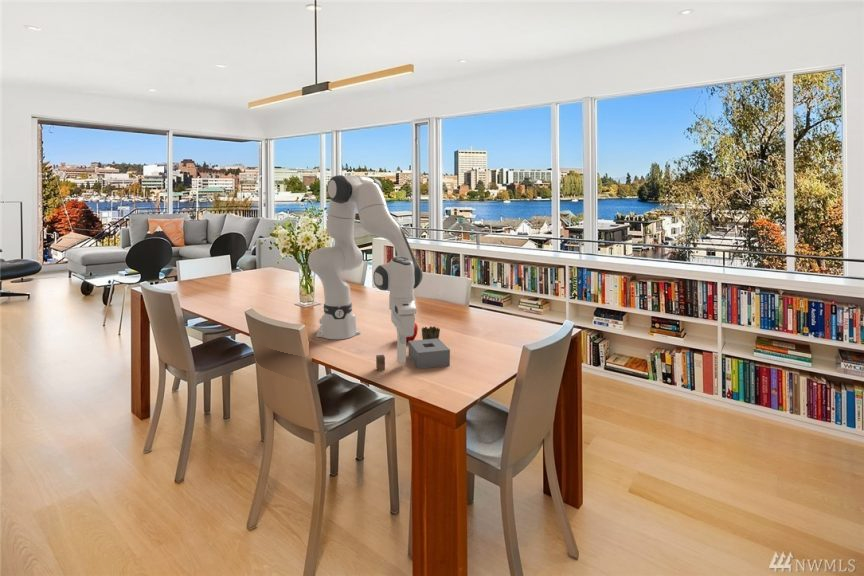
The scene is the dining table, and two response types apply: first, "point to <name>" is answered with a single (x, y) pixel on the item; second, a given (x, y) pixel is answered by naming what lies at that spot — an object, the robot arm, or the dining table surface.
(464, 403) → the dining table surface
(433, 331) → the small green plant
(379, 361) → the short pin
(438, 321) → the dining table surface
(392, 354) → the dining table surface
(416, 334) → the apple
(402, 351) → the tall pin
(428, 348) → the hole block
